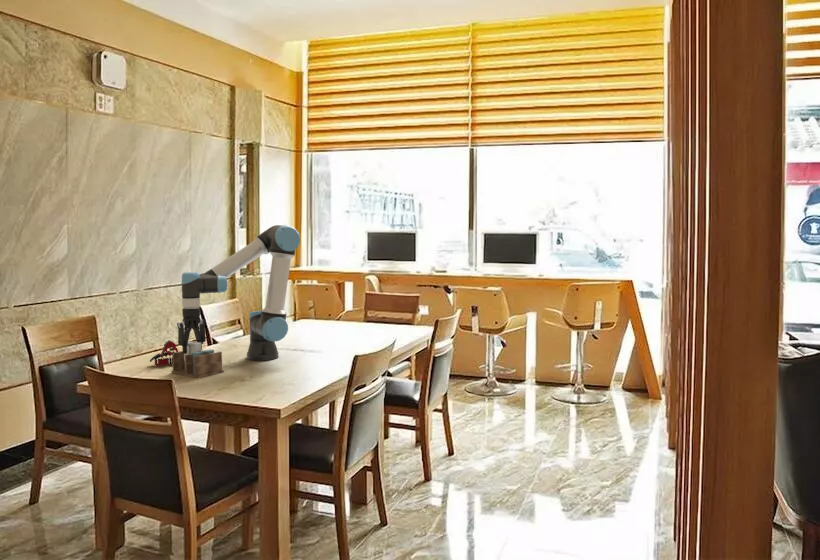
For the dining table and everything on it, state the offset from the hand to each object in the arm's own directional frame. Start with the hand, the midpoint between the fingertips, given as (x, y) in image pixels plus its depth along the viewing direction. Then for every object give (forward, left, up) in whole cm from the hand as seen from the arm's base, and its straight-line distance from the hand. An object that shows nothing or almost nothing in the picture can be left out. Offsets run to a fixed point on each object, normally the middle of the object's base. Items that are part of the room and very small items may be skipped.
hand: (192, 359), depth 314 cm
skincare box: (0, 0, -5) cm, 5 cm away
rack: (0, +3, -6) cm, 6 cm away
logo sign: (-4, -22, -6) cm, 23 cm away
